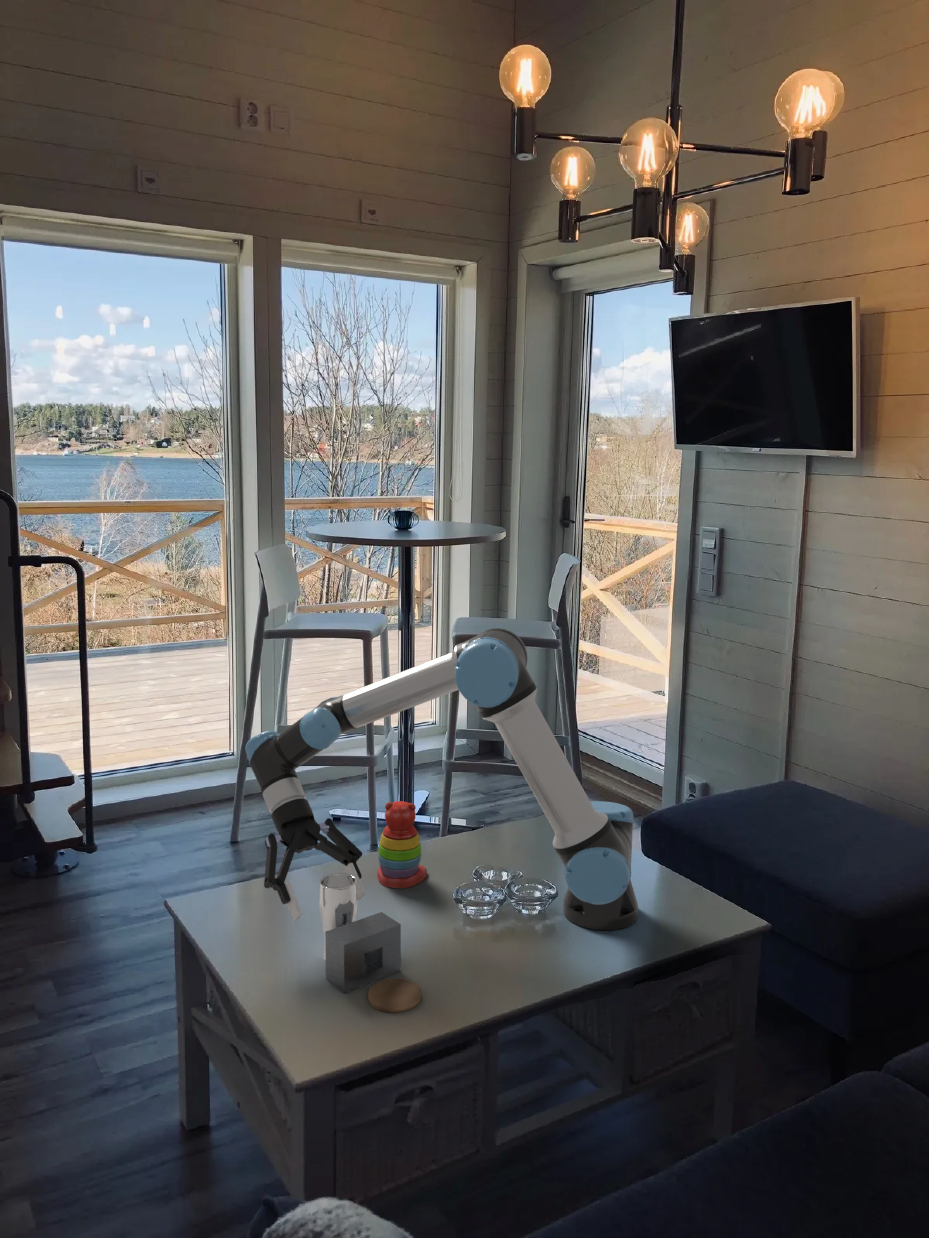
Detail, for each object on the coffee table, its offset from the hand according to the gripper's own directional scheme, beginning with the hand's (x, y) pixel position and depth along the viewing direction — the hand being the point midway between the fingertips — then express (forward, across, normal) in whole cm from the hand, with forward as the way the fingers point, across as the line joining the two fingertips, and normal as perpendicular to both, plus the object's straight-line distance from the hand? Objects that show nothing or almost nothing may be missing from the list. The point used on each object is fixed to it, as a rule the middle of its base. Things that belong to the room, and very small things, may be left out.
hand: (330, 907), depth 179 cm
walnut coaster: (+20, -1, +7) cm, 21 cm away
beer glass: (+8, -1, -5) cm, 10 cm away
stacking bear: (-6, -29, -20) cm, 35 cm away
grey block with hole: (+14, -1, 0) cm, 14 cm away
